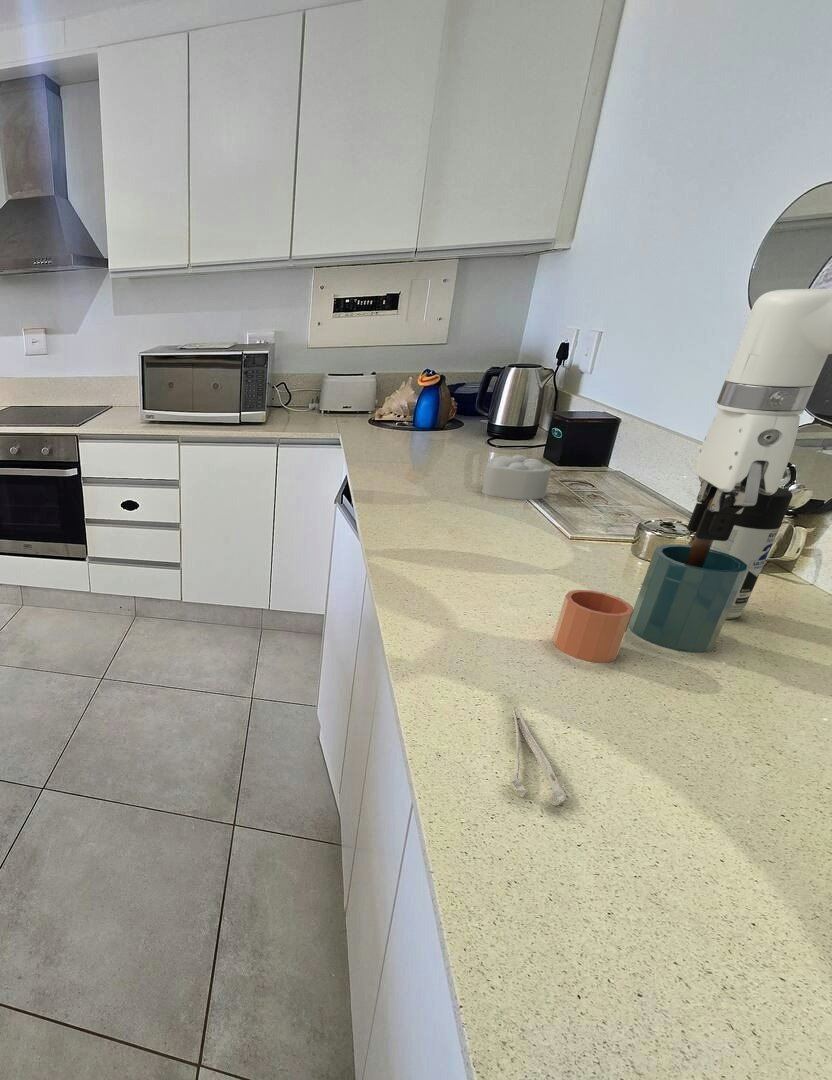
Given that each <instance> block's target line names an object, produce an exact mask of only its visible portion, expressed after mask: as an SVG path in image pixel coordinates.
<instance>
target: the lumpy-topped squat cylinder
mask: <svg viewBox="0 0 832 1080" xmlns="http://www.w3.org/2000/svg"><path fill="white" fill-rule="evenodd" d="M552 471H553V469H552V467H551V466H549V465H548V464H544V463H543V462H542V461H541V460H540V459H537V458H528V457H526V456H524V455H522V454H515V455H513V456H508V455H498V456H496V457H493V458H489V460H488V462H487V465H486V470H485V475H484V480H483V484H482V488H481V493H482V494H483V495H484V494H485V495H487V496H492V497H496V498H497V497H498V498H504V499H512V500H523V501H525V500H530V501H531V500H539V499H540V500H541V499H544V498H545V497H546V494H547V490H548V485H549V481H550V477H551V474H552Z"/></svg>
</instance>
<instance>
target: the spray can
mask: <svg viewBox="0 0 832 1080" xmlns="http://www.w3.org/2000/svg"><path fill="white" fill-rule="evenodd" d="M734 488H736V489H740V486H735V487H734ZM793 495H794V494H793V493H792V492H791V491H790V490H787V489H785V488H782V487H780V486H779V487H778V489H777V491H776V492H775V493H774V494H772V495H763V494H761V493H759V492H758V497H757V502H756V504H755V505H754V506H745V507H744V509H743V511H742V513H741V514H739V515H738V518H737V520H736V522H735V525H734V527H733V529H732V532H731V534H730V536H729V539H728V540H727V541H717V540H714V541H713V543H712V546H711V548H710V549H712V550H715V551H719V552H722V553H726V554H729V555H731V556H734V557H736V558H738V559H740V560H742V561H743V562H744V563H745V564H747V571H746V574H745V576H744V578H743V580H742V583H741V585H740V587H739V590H738V592H737V594H736V597H735V599H734V601H733V603H732V606H731V608H730V610H729V613H728V615H727V617H726V620H734V619H738V618H739V617H741V615H743V613H744V611H745V608H746V606H747V604H748V601H749V600H750V597H751V595H752V593H753V590H754V588H755V585H756V584H757V581H758V578H759V576H760V574H761V572H762V570H763V567H764V565H765V563H766V561H767V558H768V556H769V553H770V551H771V549H772V546H773V545H774V542H775V540H776V537H777V535H778V533H779V532H780V531H779V530H780V528H781V527H782V524H783V521H784V519H785V517H786V514H787V512H788V509H789V506H790V504H791V502H792V499H793ZM730 496H737V495H730Z"/></svg>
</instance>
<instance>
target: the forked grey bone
mask: <svg viewBox="0 0 832 1080" xmlns="http://www.w3.org/2000/svg"><path fill="white" fill-rule="evenodd" d="M512 713H513V720H514V729H515V754H516V755H515V769H514V770H515V771H514V772H513V774H512V775H511V777H510V783H511V787H512V789H513V791H514V792H515V794H516V796H518V797H520V798H524V797H525V795H526V793H528V792H529V790H528V789H527V788H525V786H524V785H523V783H522V782H521V780H520V779H519V773H520V767H521V765H520V764H521V763H520V762H521V761H520V732H521V734H522V736H523V738H524V740H525V741H526V743H527V745H528V747H529V748H530V749H531V751H532V753H533V755H534V756H535V758H536V760H537V761H538V763H539V766H540V768H541V770H542V772H543V775H544V777H545V778H546V780H547V781H548V784H549V785H550V788H551V789H552V792H551V795H549V798H550V805H551V806H559V805H561V803H564V801H565V800H566V797H567V794H566V792H565V789H564V787H562V785H561V784H560V781H559V780H558V778H557V776H556V775H555V772H554V769H553V767H552V765H551V763H550V761H549V759H548V758H547V757H546V754H545V753H544V752H543V750H542V749H541V747H540V746H539V744H538V742H537V741H536V740H535V738H534V737H533V734H532V733H531V731H530V729H529V728H528V726H527V723H526V722H525V720H524V718H523V717H522V714H521V713H520V711H519V709H518V708H517V714H518V716H519V717H517V714H516V711H515V706H512ZM552 776H553V778H554V779H553V778H552Z"/></svg>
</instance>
